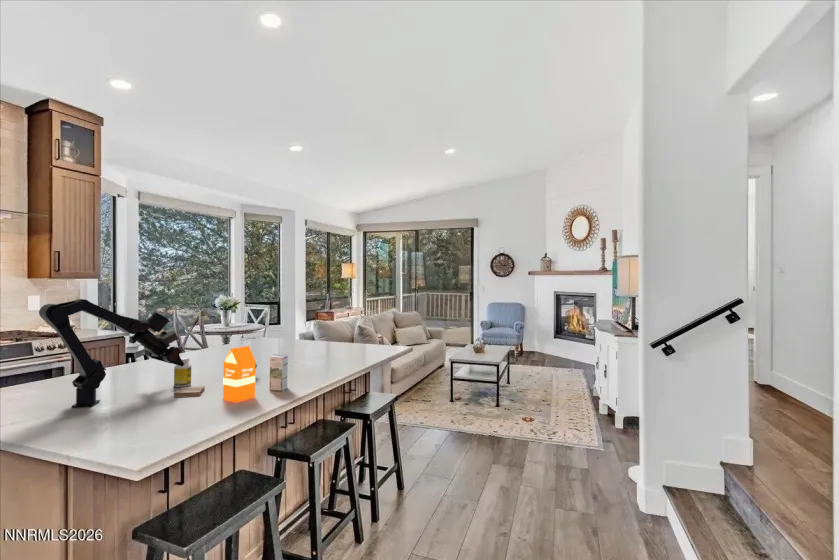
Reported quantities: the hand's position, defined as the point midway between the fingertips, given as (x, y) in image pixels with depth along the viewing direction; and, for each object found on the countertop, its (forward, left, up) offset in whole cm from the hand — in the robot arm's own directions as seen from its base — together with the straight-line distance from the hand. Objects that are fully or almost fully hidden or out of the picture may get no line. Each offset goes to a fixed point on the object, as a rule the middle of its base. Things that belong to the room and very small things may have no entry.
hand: (177, 364), depth 183 cm
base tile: (-12, -8, -10) cm, 17 cm away
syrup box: (-12, -42, -10) cm, 45 cm away
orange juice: (-23, -28, -10) cm, 38 cm away
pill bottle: (+2, -2, -10) cm, 10 cm away
